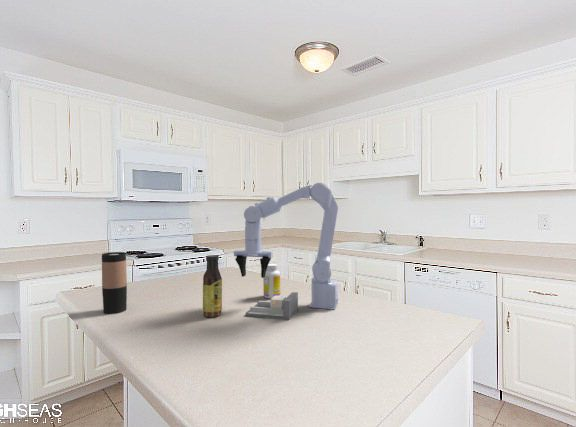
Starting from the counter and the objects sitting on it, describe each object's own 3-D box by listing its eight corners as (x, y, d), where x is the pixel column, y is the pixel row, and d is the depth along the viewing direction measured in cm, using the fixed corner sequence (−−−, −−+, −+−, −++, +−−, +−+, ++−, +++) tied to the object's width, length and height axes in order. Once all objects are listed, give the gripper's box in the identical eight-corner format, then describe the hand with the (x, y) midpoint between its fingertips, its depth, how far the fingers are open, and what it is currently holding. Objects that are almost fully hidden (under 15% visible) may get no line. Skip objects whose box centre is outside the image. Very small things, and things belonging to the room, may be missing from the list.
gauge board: (297, 309, 119) (297, 292, 119) (289, 319, 109) (289, 301, 108) (257, 306, 123) (257, 289, 123) (245, 315, 113) (245, 297, 113)
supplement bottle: (281, 294, 139) (281, 263, 138) (279, 299, 132) (279, 266, 132) (265, 294, 139) (264, 263, 139) (262, 299, 133) (261, 266, 132)
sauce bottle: (217, 318, 110) (216, 257, 110) (199, 317, 111) (198, 256, 111) (225, 312, 117) (224, 254, 116) (208, 311, 118) (207, 253, 117)
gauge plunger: (286, 307, 117) (286, 296, 117) (279, 315, 110) (279, 302, 110) (275, 307, 118) (275, 295, 118) (267, 314, 111) (267, 301, 111)
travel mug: (97, 312, 117) (96, 254, 117) (117, 306, 124) (116, 251, 123) (112, 315, 114) (110, 255, 113) (132, 309, 121) (131, 252, 120)
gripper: (275, 238, 126) (275, 275, 126) (239, 237, 130) (239, 273, 130) (269, 240, 119) (269, 279, 120) (231, 239, 123) (231, 277, 124)
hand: (253, 276), depth 125 cm, fingers open, 7 cm apart
